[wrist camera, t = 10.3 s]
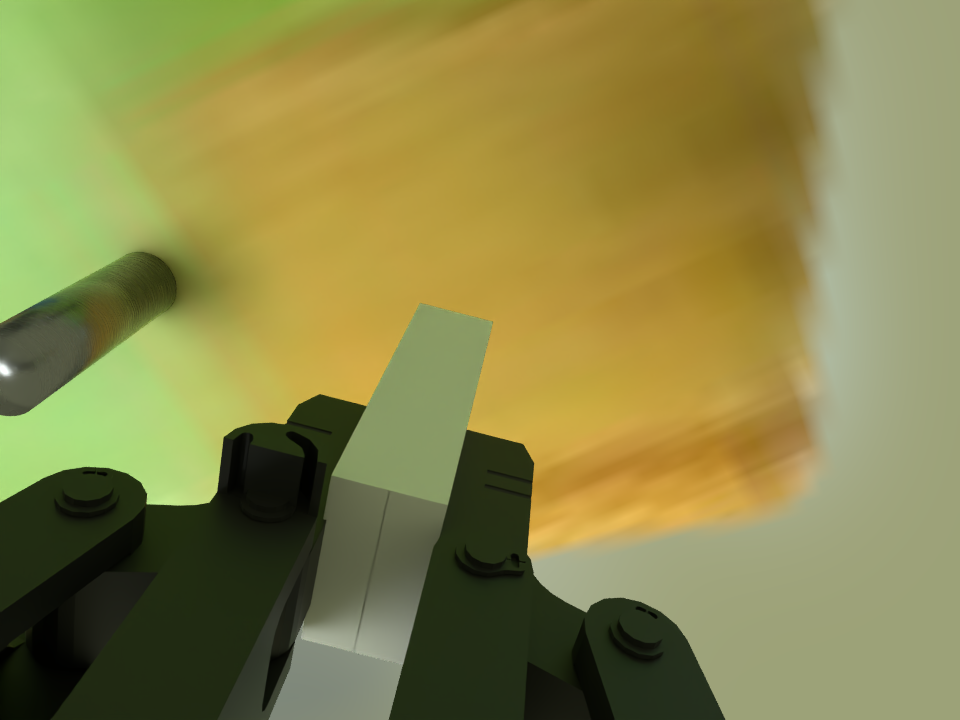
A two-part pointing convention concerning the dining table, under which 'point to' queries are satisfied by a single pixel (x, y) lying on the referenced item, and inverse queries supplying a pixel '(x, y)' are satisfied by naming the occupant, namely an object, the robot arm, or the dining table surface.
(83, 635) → the robot arm
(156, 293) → the post
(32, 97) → the dining table surface
